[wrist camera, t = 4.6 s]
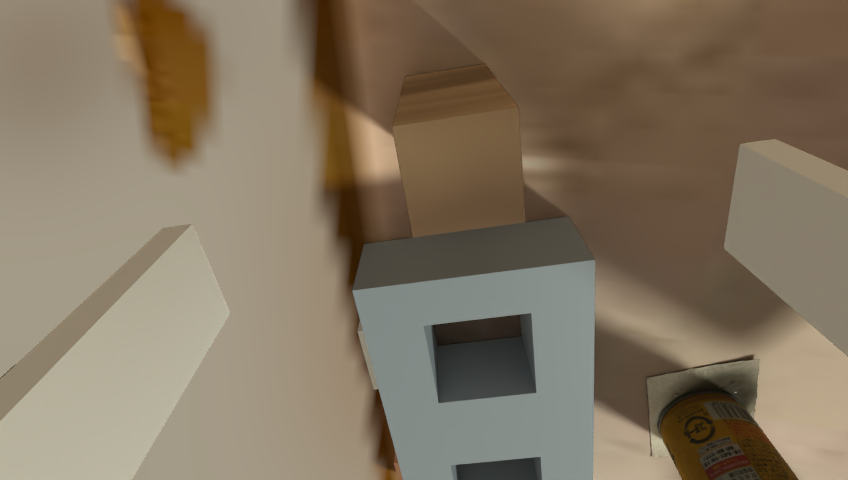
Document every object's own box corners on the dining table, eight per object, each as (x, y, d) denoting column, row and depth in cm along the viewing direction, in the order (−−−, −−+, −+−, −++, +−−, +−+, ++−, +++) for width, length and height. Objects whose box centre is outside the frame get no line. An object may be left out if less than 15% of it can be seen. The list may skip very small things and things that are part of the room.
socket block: (354, 245, 28) (340, 292, 24) (568, 216, 27) (595, 259, 23) (414, 483, 39) (412, 547, 34) (573, 468, 38) (592, 532, 33)
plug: (405, 76, 24) (392, 126, 15) (484, 63, 24) (518, 107, 15) (418, 152, 26) (412, 237, 17) (492, 141, 26) (525, 222, 17)
